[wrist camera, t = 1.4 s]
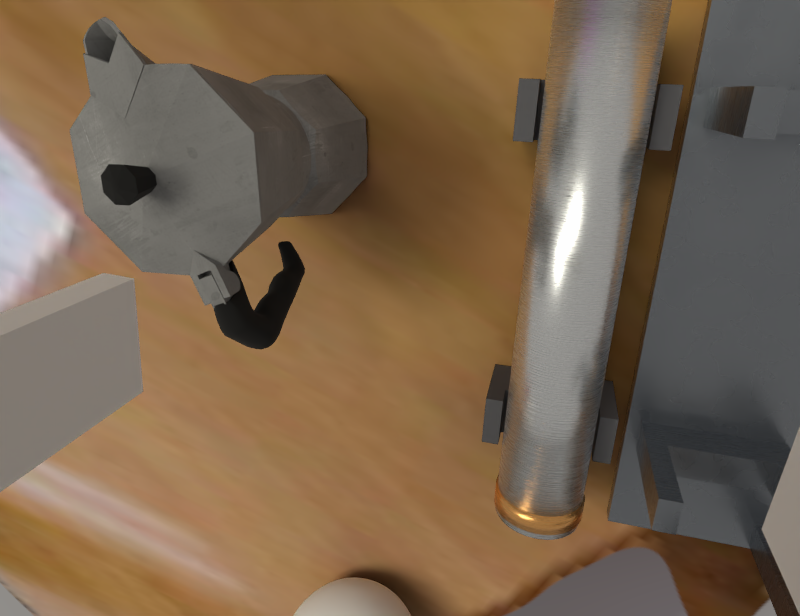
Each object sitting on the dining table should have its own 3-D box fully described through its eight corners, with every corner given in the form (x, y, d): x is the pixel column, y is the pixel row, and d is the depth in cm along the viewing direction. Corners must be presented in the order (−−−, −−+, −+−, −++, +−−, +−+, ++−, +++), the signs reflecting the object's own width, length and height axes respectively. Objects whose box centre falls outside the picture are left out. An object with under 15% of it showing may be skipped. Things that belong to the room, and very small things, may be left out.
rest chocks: (525, 80, 34) (519, 78, 30) (667, 85, 33) (683, 84, 28) (491, 403, 42) (481, 441, 37) (605, 421, 40) (610, 464, 35)
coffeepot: (203, 76, 39) (-58, 65, 23) (325, 10, 36) (122, -58, 19) (300, 289, 43) (133, 414, 26) (420, 247, 39) (314, 360, 23)
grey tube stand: (716, -40, 30) (839, -150, 17) (958, -41, 28) (1337, -170, 14) (605, 518, 42) (624, 723, 29) (768, 550, 40) (873, 790, 26)
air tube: (553, 4, 30) (551, -12, 25) (665, 5, 29) (685, -12, 24) (498, 477, 40) (489, 529, 35) (579, 492, 38) (581, 549, 34)
